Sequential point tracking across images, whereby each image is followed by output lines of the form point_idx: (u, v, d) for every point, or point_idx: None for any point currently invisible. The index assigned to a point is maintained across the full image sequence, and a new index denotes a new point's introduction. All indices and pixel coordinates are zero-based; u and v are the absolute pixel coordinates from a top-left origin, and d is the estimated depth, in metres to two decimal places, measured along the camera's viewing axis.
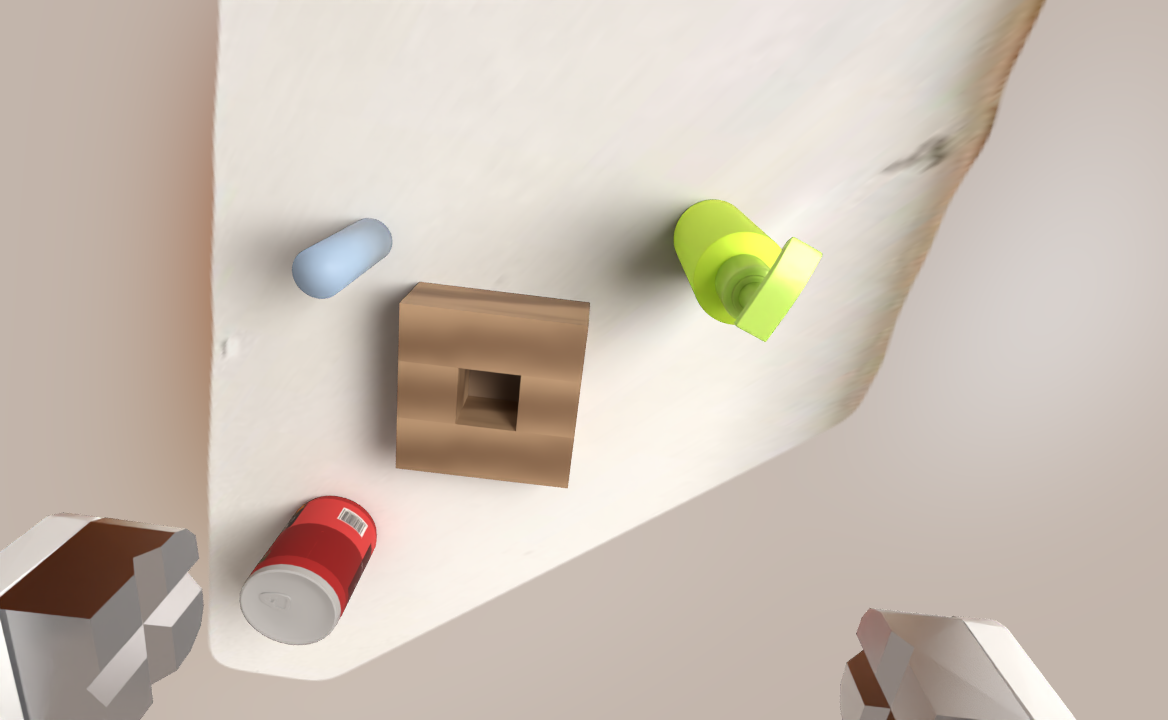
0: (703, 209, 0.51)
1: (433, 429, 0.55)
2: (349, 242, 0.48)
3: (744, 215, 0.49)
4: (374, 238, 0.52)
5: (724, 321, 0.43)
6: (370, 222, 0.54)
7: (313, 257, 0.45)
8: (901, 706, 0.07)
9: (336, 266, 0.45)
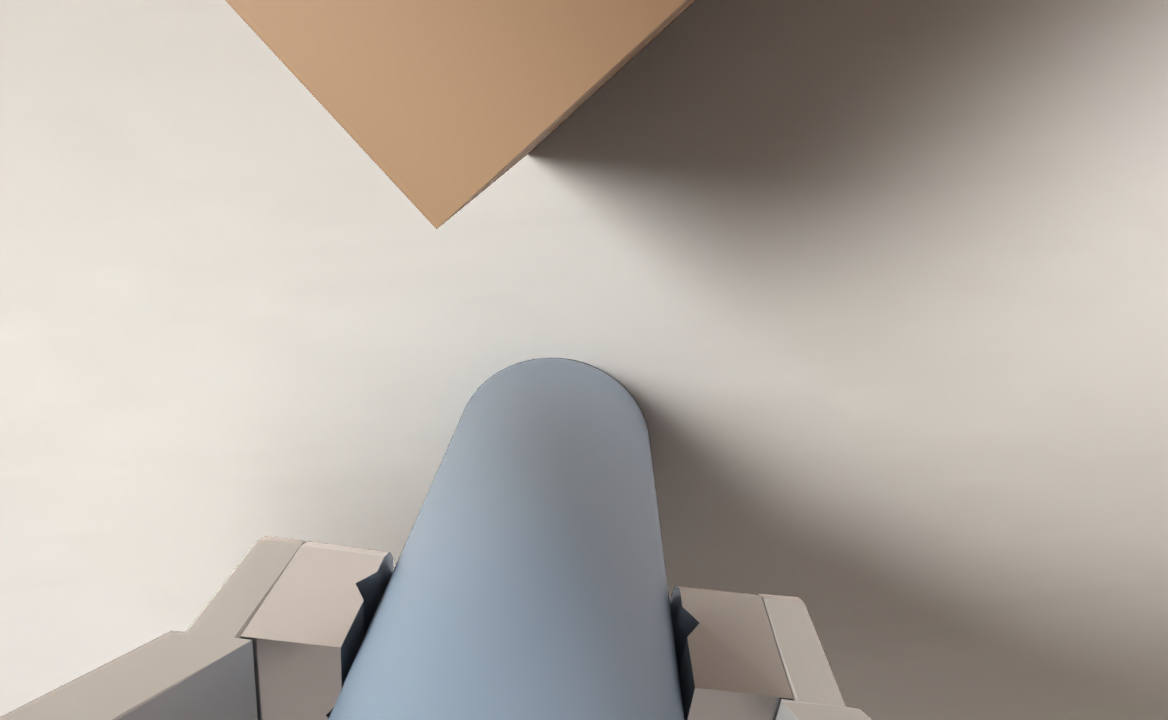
0: None
1: None
2: None
3: None
4: None
5: None
6: None
7: None
8: (680, 681, 0.07)
9: None
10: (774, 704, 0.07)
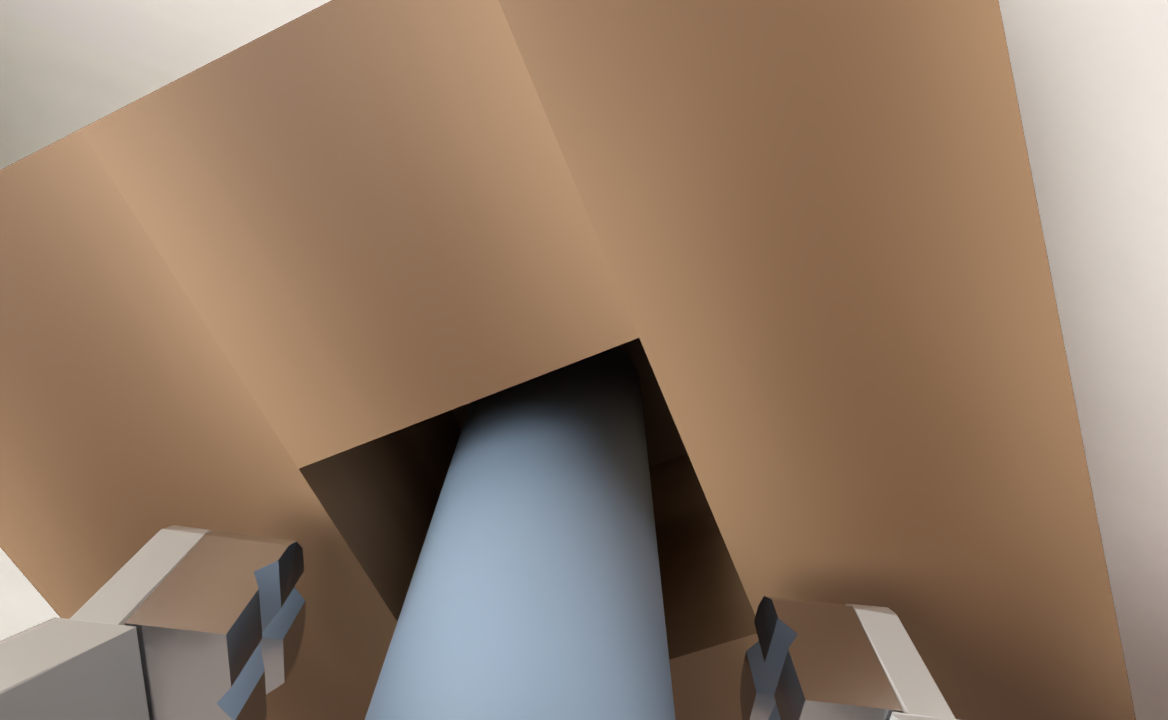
0: None
1: None
2: None
3: None
4: None
5: None
6: None
7: None
8: (782, 693, 0.07)
9: None
10: (884, 717, 0.07)
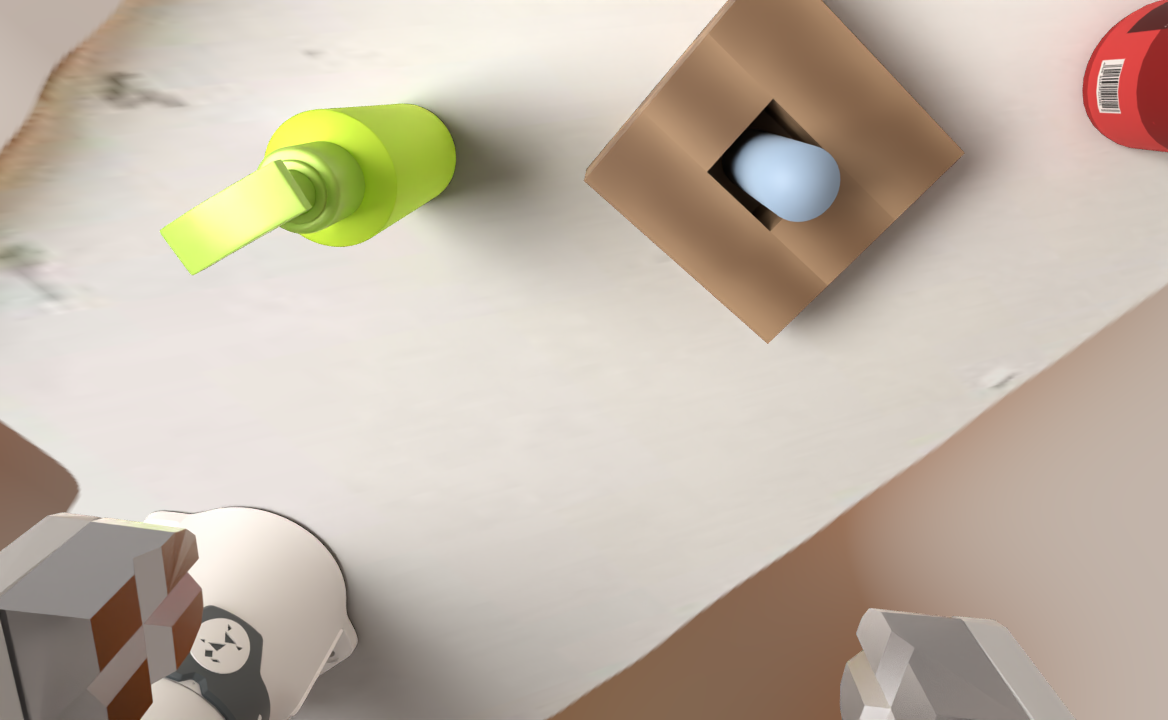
0: None
1: (868, 173, 0.36)
2: (752, 194, 0.35)
3: None
4: (733, 171, 0.38)
5: (375, 138, 0.30)
6: None
7: (795, 207, 0.32)
8: (903, 707, 0.07)
9: (773, 185, 0.31)
10: None
